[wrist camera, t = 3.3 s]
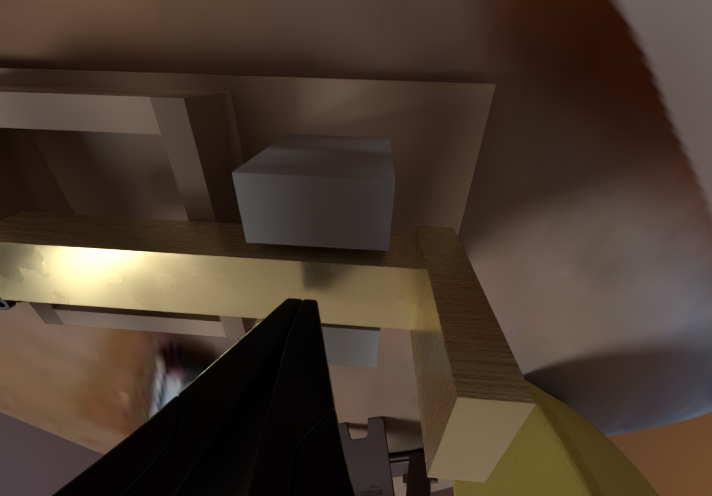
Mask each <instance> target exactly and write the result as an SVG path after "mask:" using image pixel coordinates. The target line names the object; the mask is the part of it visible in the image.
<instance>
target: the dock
mask: <svg viewBox="0 0 712 496" xmlns="http://www.w3.org/2000/svg"><path fill="white" fill-rule="evenodd" d="M495 87H496V84H489V83H462V82H431V81H400V80H369V79H338V78H307V77H276V76H245V75H214V74H183V73H152V72H121V71H90V70H59V69H28V68H0V220H2V219H4V218H7V217H9V216H12V215H14V214H17V213H20V212H22V211H26V212H44V213H61V214H78V215H96V216H113V217H130V218H148V219H165V220H182V221H200V222H217V223H235V224H243V229H244V234H245V238H246V242H248V243H265V244H281V245H298V246H314V247H331V248H347V249H364V250H380V251H388V249H389V239H390V232H391V233H408V234H416V230H417V226H426V227H444V228H454V229H455V231H456V233H457V235H459V231H460V227H461V223H462V219H463V215H464V211H465V207H466V203H467V199H468V195H469V191H470V187H471V183H472V179H473V175H474V171H475V167H476V163H477V159H478V155H479V151H480V147H481V143H482V139H483V135H484V131H485V127H486V123H487V119H488V115H489V111H490V107H491V103H492V99H493V95H494V91H495ZM28 302H29V301H28ZM29 303H30V304H31V306H32V307H33V308H34V310H35V311H36V312H37V313H38V315H39V316H40V317H41V318H42V320H43V321H44V322H45V323H50V324H63V325H76V326H89V327H102V328H115V329H128V330H141V331H154V332H167V333H180V334H193V335H206V336H219V337H232V338H242V337H244V336H245V335H246V334H247V333H248V332H249V331H250V330H251V329H252V327H253V325H254V323H255V321H256V319H257V318H246V317H233V316H219V315H205V314H192V313H178V312H165V311H151V310H137V309H124V308H110V307H97V306H83V305H69V304H56V303H42V302H29ZM321 325H322V331H323V337H324V343H325V349H326V355H327V361H328V364H330V365H343V366H355V367H367V368H376V366H377V356H378V346H379V337H380V327H368V326H355V325H341V324H328V323H321Z"/></svg>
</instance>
